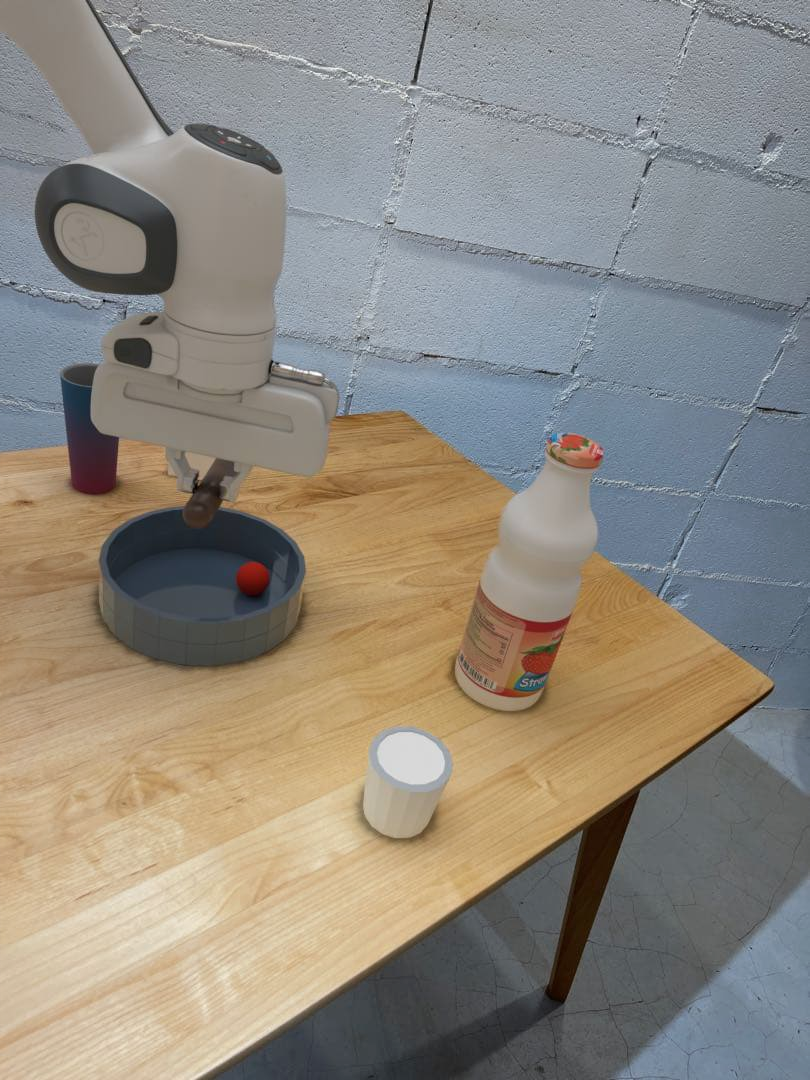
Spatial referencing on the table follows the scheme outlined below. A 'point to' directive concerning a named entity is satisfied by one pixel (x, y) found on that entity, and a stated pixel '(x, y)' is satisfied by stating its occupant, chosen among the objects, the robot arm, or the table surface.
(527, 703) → the fruit juice
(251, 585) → the tomato
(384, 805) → the shot glass
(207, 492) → the brown bar
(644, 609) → the table surface
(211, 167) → the robot arm
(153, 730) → the table surface
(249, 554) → the bowl
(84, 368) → the cup
